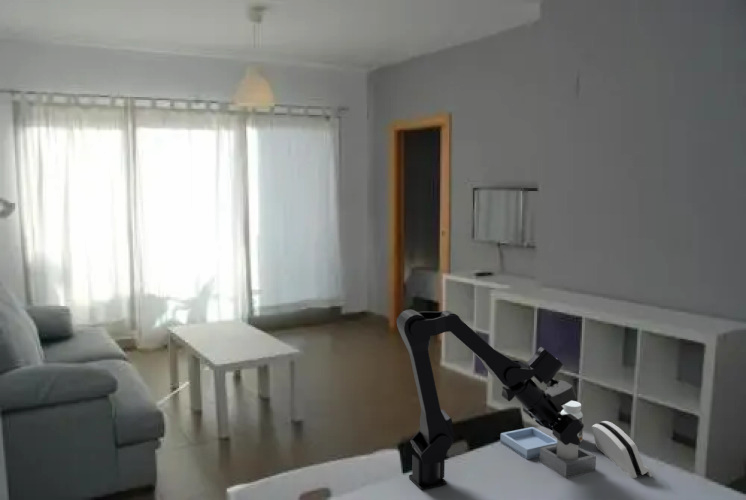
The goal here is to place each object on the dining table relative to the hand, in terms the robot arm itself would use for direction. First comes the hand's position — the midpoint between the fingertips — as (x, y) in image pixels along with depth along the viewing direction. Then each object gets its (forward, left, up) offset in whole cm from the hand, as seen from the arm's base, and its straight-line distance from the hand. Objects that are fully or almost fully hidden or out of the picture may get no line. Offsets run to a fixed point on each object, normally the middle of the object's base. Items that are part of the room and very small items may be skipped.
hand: (573, 439), depth 138 cm
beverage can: (-1, 0, -7) cm, 7 cm away
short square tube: (-1, 0, -7) cm, 7 cm away
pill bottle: (+10, +12, -7) cm, 17 cm away
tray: (-2, +12, -7) cm, 14 cm away
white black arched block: (+12, -3, -7) cm, 14 cm away
